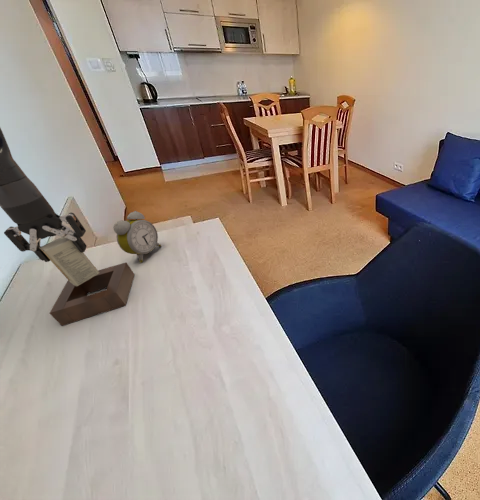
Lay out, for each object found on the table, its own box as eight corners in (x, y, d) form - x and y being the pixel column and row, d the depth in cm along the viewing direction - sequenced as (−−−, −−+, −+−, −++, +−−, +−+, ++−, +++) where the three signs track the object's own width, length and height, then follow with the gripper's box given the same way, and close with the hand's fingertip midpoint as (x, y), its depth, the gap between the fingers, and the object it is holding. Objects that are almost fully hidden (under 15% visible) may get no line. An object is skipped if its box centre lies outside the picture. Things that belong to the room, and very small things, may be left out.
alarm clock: (143, 264, 101) (119, 226, 92) (126, 264, 102) (100, 226, 94) (165, 244, 110) (145, 208, 101) (149, 244, 111) (128, 208, 103)
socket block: (61, 326, 81) (49, 313, 78) (79, 290, 93) (68, 278, 90) (125, 305, 85) (116, 292, 82) (134, 274, 97) (126, 262, 94)
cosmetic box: (93, 269, 88) (66, 234, 80) (100, 273, 85) (73, 237, 78) (68, 283, 83) (37, 247, 76) (75, 287, 81) (44, 251, 74)
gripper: (62, 186, 75) (100, 240, 85) (-9, 201, 71) (40, 256, 81) (51, 197, 69) (93, 254, 79) (-27, 214, 65) (28, 272, 75)
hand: (66, 255), depth 80 cm, fingers closed on cosmetic box, 7 cm apart
